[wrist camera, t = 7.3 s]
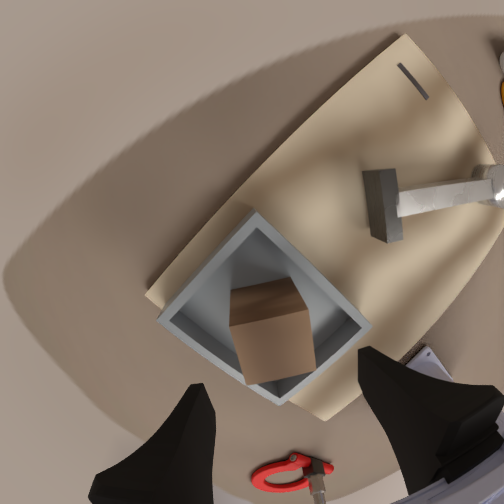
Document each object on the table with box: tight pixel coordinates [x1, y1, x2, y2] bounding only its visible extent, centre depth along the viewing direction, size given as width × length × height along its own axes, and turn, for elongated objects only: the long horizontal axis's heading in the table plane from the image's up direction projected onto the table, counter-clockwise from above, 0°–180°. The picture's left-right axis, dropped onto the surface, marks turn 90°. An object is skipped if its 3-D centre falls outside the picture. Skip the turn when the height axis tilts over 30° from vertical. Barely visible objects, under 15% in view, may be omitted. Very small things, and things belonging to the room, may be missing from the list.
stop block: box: [229, 277, 316, 386], centre depth 17 cm, size 4×4×5 cm
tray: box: [156, 208, 373, 406], centre depth 18 cm, size 11×9×2 cm
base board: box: [145, 33, 504, 421], centre depth 19 cm, size 20×29×1 cm
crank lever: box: [362, 164, 504, 244], centre depth 16 cm, size 15×4×3 cm, turn 102°
